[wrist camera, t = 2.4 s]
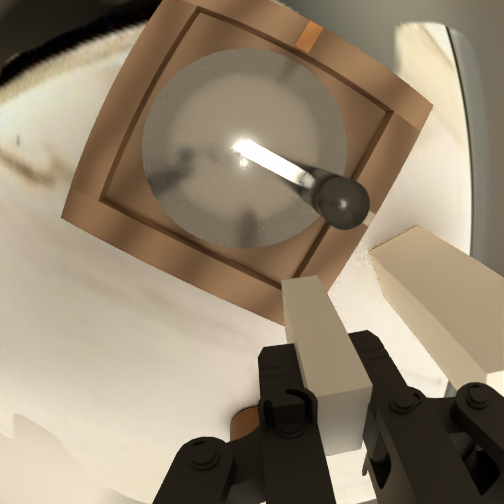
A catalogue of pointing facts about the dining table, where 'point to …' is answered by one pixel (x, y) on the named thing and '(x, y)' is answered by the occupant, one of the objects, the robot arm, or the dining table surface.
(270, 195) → the dial
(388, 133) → the board
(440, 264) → the milk
